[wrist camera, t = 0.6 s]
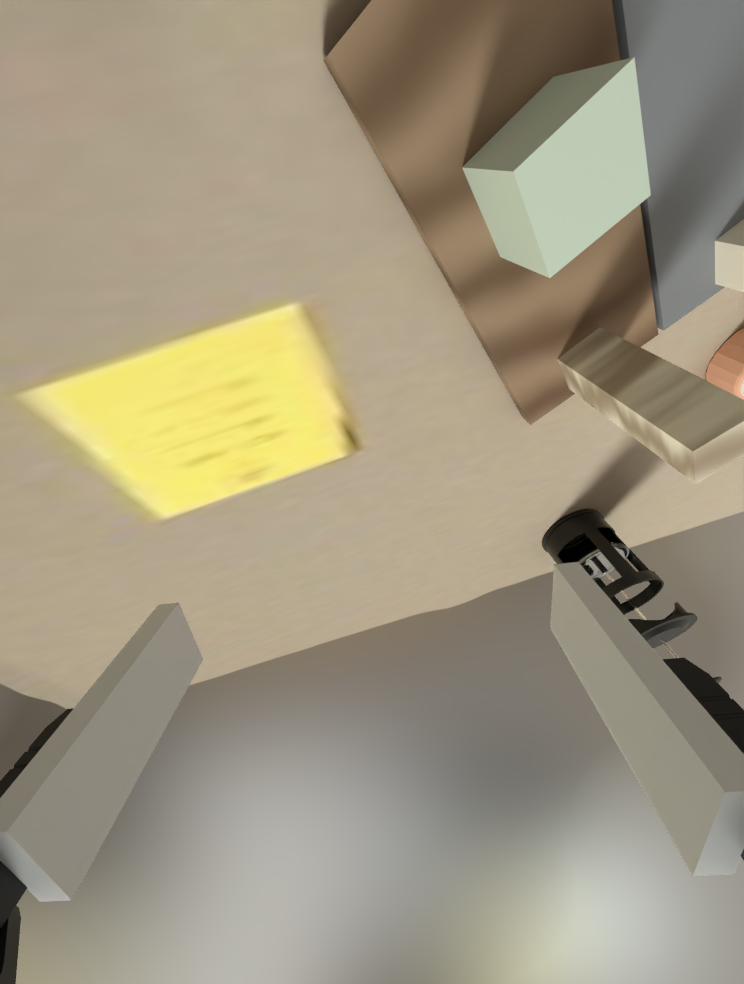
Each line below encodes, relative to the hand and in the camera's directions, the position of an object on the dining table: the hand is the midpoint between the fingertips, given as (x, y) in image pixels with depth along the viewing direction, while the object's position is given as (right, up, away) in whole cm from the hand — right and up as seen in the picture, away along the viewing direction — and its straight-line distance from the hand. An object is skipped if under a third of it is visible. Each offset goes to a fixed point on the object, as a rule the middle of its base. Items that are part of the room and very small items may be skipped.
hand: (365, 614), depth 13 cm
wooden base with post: (+12, +23, +14) cm, 29 cm away
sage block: (+10, +24, +10) cm, 28 cm away
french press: (+30, -2, +43) cm, 53 cm away
